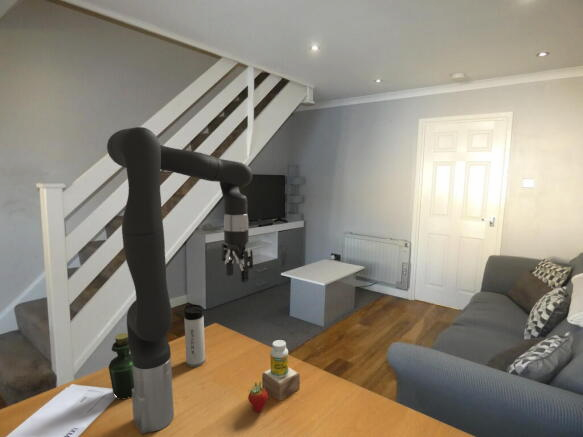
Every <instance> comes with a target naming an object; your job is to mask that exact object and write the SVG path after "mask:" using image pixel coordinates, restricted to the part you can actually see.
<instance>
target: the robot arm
mask: <svg viewBox="0 0 583 437" xmlns="http://www.w3.org/2000/svg"><path fill="white" fill-rule="evenodd" d="M106 149H107V153H108V156H109V158H111V160H112V161H113V162H114V164H115V163H116V164H117V165H119V166H120V167H123V168H125V169H126V175H127V181H128V182H127V183H128V193H127V200H126V203H125V204H126V205H125V208H124V210H123V215H122V222H121V234H122V236H121V237H122V244H123V245H122V247H123V252H124V256H125V262H126V264H127V267H128V271H129V273H130V276H131V279H132V282H133V285H134V290H135V301H133V302H132V303H131V305H130V306H129V308H128V310H127V313H126V330H127V332H126V333H128V342H129V349H130V351H129V354H131V356H132V365H133V379H134V388H133V389H132V397H131V400H132V413H133V414H132V415H133V416H132V417H133V423H134V425H135V426H136V427H137V429H138V431H139V432H140V434H141V435H142V434H143V435H144V434H146V433H152V432H157V431H160V430H162V429H164V428H167V426H169V425H170V424H171V422H172V421H173V420H174V415H175V412H174V411H175V410H174V409H175V408H174V397H173V396H174V395H173V394H174V392H173V390H174V389H173V377H172V376H173V375H172V374H173V373H172V358H171V357H172V355H171V354H172V353H171V347H170V343H169V341H168V338H167V335H168V334H169V332H170V330H171V329H172V325H173V320H174V318H173V310H172V306H171V305H172V304H171V302H170V301H171V300H170V295H169V290H168V285H167V264H166V250H165V249H166V246H165V244H166V243H165V232H164V231H165V230H164V222H163V210H162V196H161V173H162V171H166V172H172V173H176V174H179V175H184V176H187V177H191V178H196V179H199V180H203V181H206V182H207V181H209V182H217V183H219V186H220V191H221V193H222V196H223V201H224V206H223V207H224V216H223V218H224V219H223V234H224V235H223V241H224V243H222V244H221V261H222V262H224V265H225V271H226V276H228V277H230V276H233V275H234V261H235V262H236V264H237V265H239V268H240V282H241V283H243V284H244V283H247V282H249V270H253V269H254V259H253V258H254V257H253V249H247V248H246V245H247V244H248V243H249V241H250V240H249V216H248V197H247V196H246V195H244V194H242V193H241V192H240V188H242V187H247V186H248V185H250V183H251V182H252V179H253V177H254V176H253V171H252V169H251V168H250V166H248V165H247V164H245V163H243V162H240V161H234V160H228V159H222V158H219V157H217V156H213V155H209V154H206V153H202V152H199V151H193V150H186V149H181V148H175V147H170V146H166V145H162V144H160V141H159V139H158V137H157V135H156V134H155V132H153V131H152V130H150V129H149V128H146V127H144V126H143V127H142V126H141V127H140V126H137V127H130V128H129V127H128V128H123V129H120V130H118V131H116V132H114V133H113V134H112V135H111V136H110V137H109V138H108V140H107V144H106Z"/></svg>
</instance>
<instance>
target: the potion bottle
mask: <svg viewBox="0 0 583 437" xmlns="http://www.w3.org/2000/svg"><path fill="white" fill-rule="evenodd" d="M114 339H115V342H114V343H113V344H112V347H111V351H112V352H114V353H116V355H117V356H115V357H114V358H112V359H111V360H110V362H109V364H108V373H109V377H110V383H111V388H112V393H114V394H115V395H116V396H117V398H120V399H119V400H124V399H123V398H127V399H129V398H128V397H130V398H132V397H131V396H132V389H133V388H134V379H133V365H132V356H131V353H130V349H129V342H128V332H121V333H119V334H118V333H117V334H116V335H115V336H114ZM114 394H113V395H114ZM117 398H116V399H117Z"/></svg>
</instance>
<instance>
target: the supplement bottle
mask: <svg viewBox="0 0 583 437" xmlns="http://www.w3.org/2000/svg"><path fill="white" fill-rule="evenodd" d="M288 367H289V350H288V348H287V342H286V341H285V340H282V339H277V340H274V341H273V342H272V348H271V350H270V369H271V374H272V375H273V376H274V377H277V378H282V377H285V376H286V375H287V374H288Z"/></svg>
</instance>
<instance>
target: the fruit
mask: <svg viewBox="0 0 583 437" xmlns="http://www.w3.org/2000/svg"><path fill="white" fill-rule="evenodd" d="M264 388H265V387H264ZM264 388H262V381H259V383H257V382H254V386H252V385H251V389H250V390H248V392H249V393H248V398H247V399H248V401H249V403H250V404H251V406H252V409H253V410H254V412H255V413H261V412H262V411H263V409H264V408H265V405H267V401H268V397H269V396H268V394H269V393H268V392H267V391H266V390H265V389H264Z"/></svg>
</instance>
